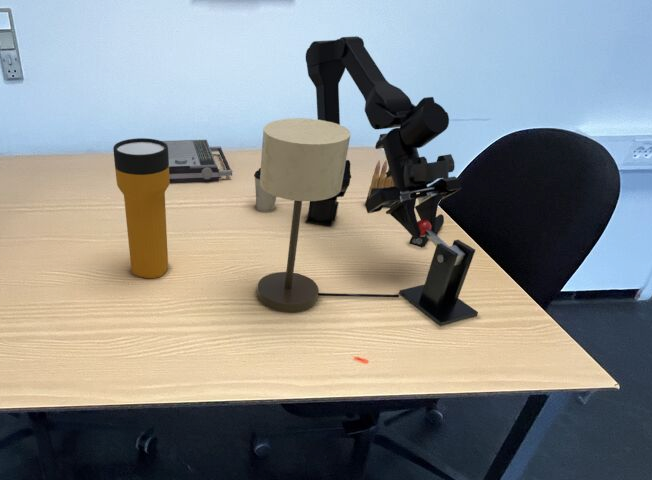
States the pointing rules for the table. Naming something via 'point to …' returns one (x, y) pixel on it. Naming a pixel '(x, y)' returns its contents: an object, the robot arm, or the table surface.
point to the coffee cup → (263, 196)
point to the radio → (194, 162)
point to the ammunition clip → (380, 180)
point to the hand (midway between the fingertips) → (425, 237)
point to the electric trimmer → (423, 240)
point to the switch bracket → (443, 286)
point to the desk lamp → (300, 195)
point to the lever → (438, 239)
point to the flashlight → (144, 202)
